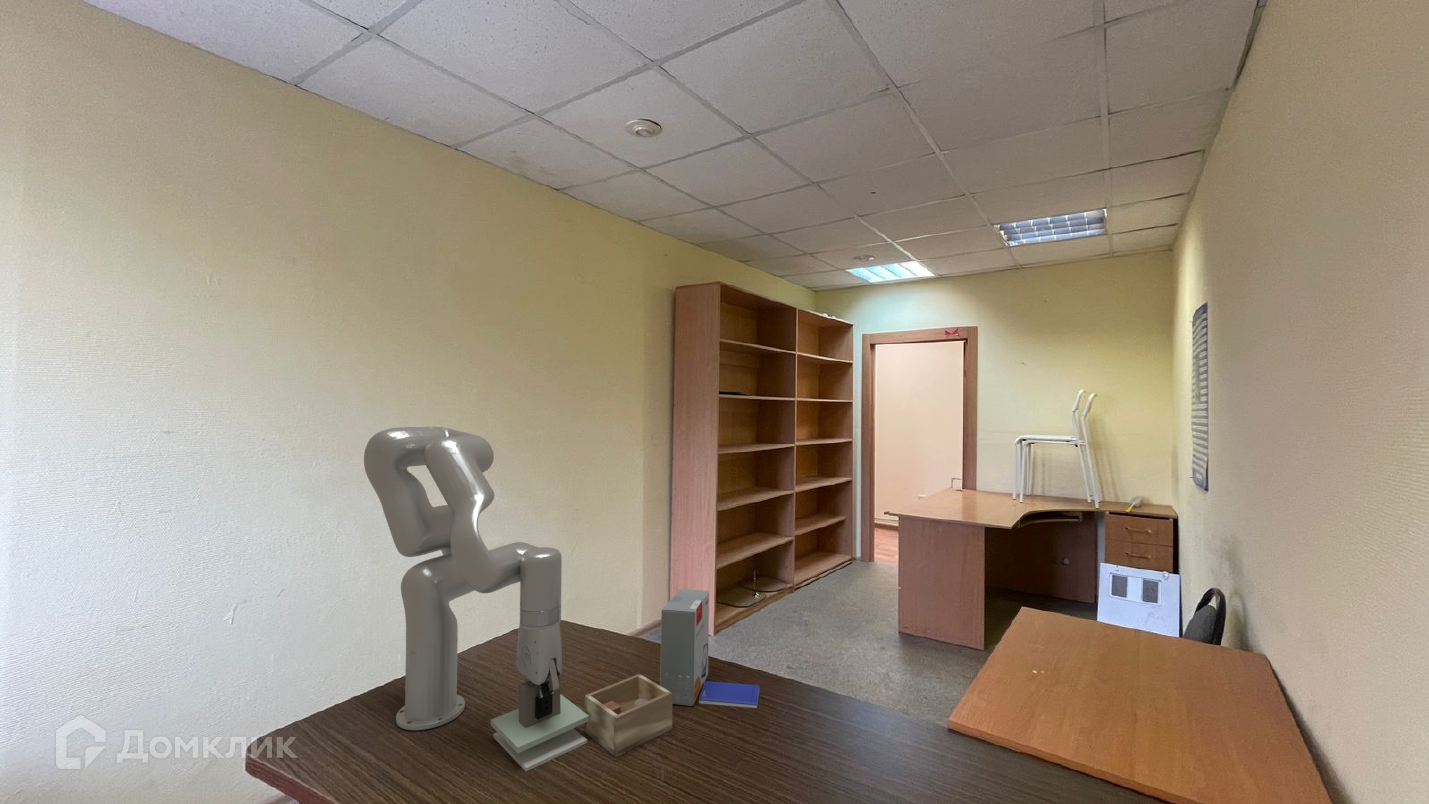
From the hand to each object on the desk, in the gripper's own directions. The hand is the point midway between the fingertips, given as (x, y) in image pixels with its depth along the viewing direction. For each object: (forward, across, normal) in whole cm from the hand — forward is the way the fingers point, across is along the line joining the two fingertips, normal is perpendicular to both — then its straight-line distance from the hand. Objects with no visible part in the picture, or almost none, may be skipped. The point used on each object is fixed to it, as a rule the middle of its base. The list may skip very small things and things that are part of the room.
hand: (539, 711), depth 104 cm
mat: (+5, 0, 0) cm, 5 cm away
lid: (+3, 0, 0) cm, 3 cm away
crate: (+5, +9, +14) cm, 18 cm away
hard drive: (+6, +14, +38) cm, 41 cm away
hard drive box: (+5, +4, +33) cm, 34 cm away
